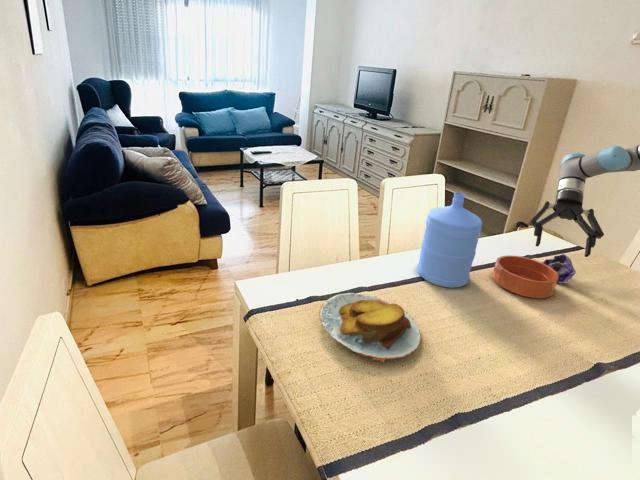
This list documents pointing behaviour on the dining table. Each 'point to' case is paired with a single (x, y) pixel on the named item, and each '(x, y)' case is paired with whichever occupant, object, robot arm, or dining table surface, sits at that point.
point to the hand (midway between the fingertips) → (562, 250)
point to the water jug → (449, 244)
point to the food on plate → (370, 326)
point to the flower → (561, 267)
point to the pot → (525, 276)
